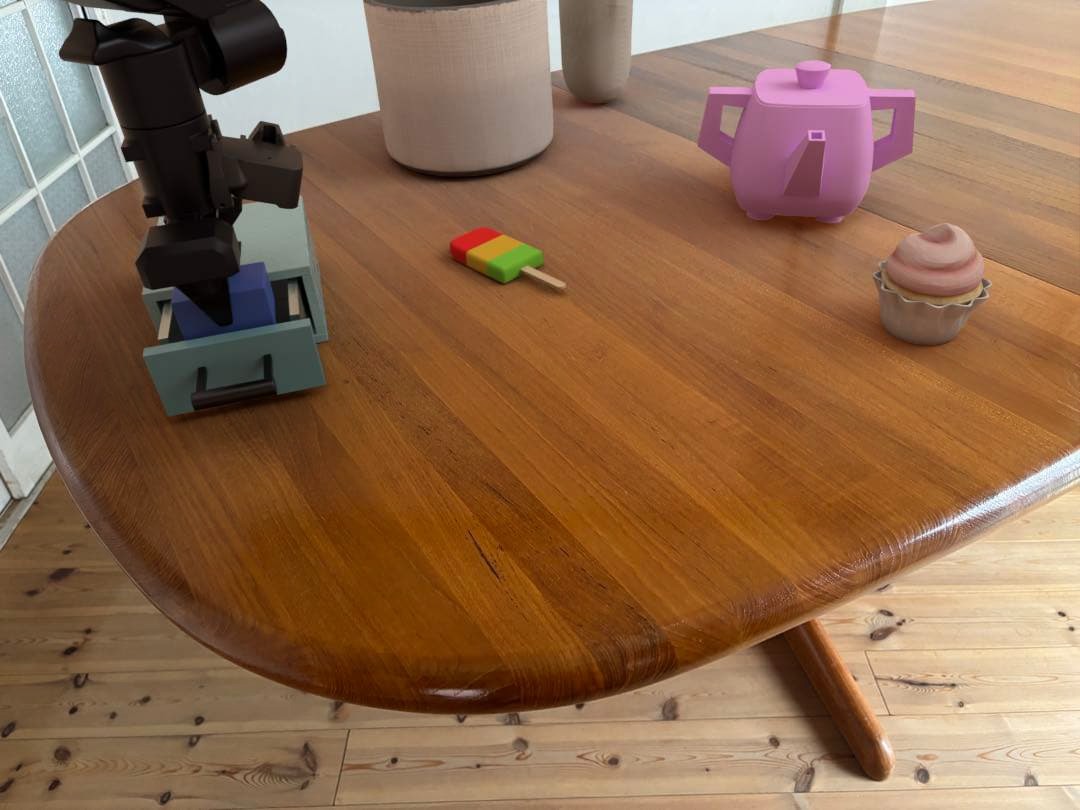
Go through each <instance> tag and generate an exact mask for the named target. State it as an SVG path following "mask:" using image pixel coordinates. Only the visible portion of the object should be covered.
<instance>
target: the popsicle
mask: <svg viewBox="0 0 1080 810" xmlns="http://www.w3.org/2000/svg"><path fill="white" fill-rule="evenodd" d="M449 252H450V256H451V257H452V259H453V260H455V261H456V262H459V263H461V264H462V265H465V266H467V267H468V268H470V269H473V270H475V271H477V272H479V273H481V274H483V275H485V276H487V277H489V278H490V279H493V280H495V281H497V282H499V283H500V284H507V283H510V282H511V281H513V280H515V279H517V278H520V277H521V276H523V275H527V276H529V277H532V278H534V279H535V280H538V281H540V282H542V283H544V284H546V285H548V286H551V287H553V288H555V289H557V290H563V289H565V288H566V287H567V283H566V282H564V281H562V280H559V279H557V278H555V277H553V276H551V275H549V274H547V273H545V272H542V271H540V270H538V269H537V268H539V267H541V266H542V265H543V264H544V253H543V251H542V250H541V249H538V248H536V247H534V246H531V245H529V244H526V243H524V242H522V241H519V240H517V239H516V238H513V237H510V236H508V235H506V234H504V233H501V232H499V231H497V230H495V229H492V228H490V227H483V226H482V227H478V228H476V229H472V230H470V231H468V232H466V233H464V234H461V235H459V236H458V237H455V238H454V239H452V240H451V241H450V243H449Z"/></svg>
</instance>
